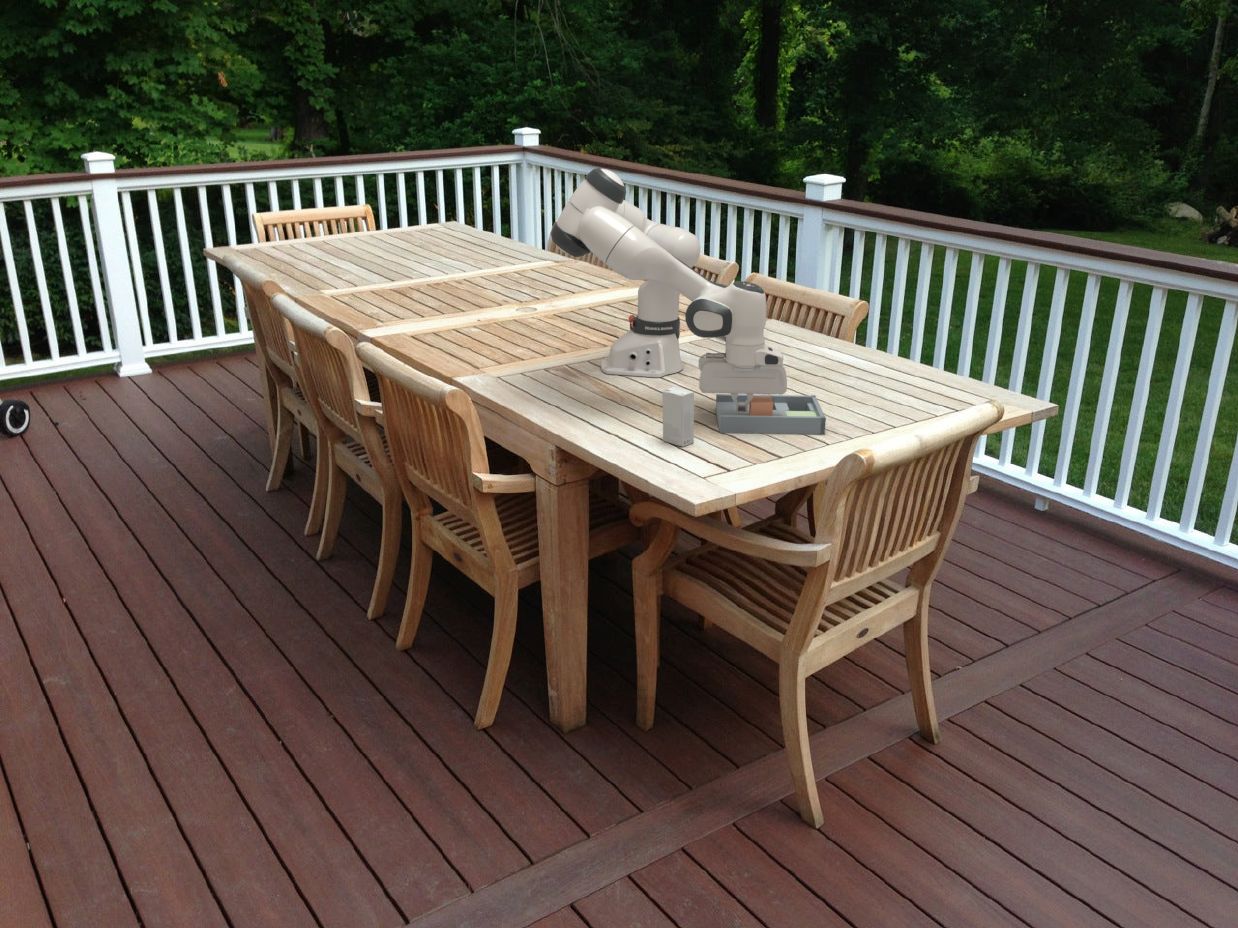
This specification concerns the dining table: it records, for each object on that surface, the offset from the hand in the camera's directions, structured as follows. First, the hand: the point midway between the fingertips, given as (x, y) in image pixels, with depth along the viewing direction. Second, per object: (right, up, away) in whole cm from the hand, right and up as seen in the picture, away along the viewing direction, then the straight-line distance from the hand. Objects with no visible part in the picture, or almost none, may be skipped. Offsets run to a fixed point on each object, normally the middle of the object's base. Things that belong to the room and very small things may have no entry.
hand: (741, 410), depth 255 cm
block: (+5, -1, 0) cm, 5 cm away
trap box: (+7, -2, +4) cm, 8 cm away
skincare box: (-15, -8, -9) cm, 19 cm away
